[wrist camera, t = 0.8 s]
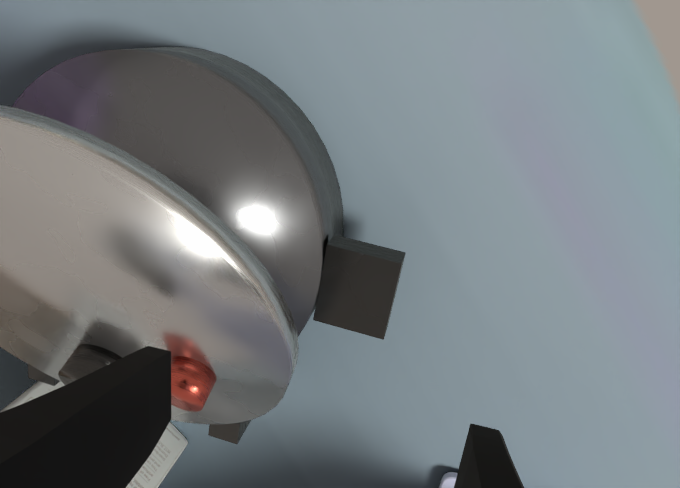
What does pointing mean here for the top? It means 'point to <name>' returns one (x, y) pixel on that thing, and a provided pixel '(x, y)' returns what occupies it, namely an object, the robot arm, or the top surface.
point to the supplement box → (158, 461)
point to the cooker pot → (231, 172)
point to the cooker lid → (132, 275)
